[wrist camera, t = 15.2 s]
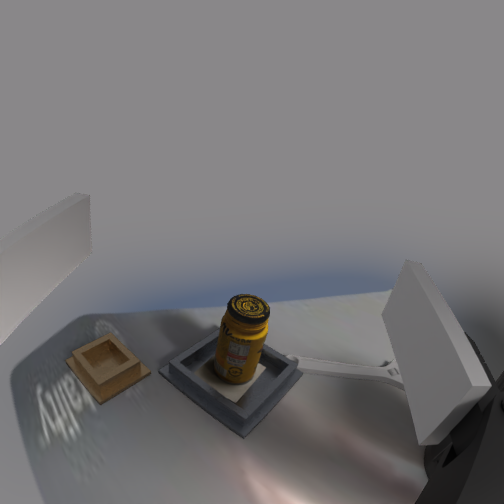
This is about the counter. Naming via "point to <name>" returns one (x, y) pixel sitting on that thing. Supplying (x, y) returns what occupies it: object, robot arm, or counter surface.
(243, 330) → the condiment
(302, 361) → the adjustable wrench
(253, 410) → the large collar
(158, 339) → the counter surface
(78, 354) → the small brown compartment box
